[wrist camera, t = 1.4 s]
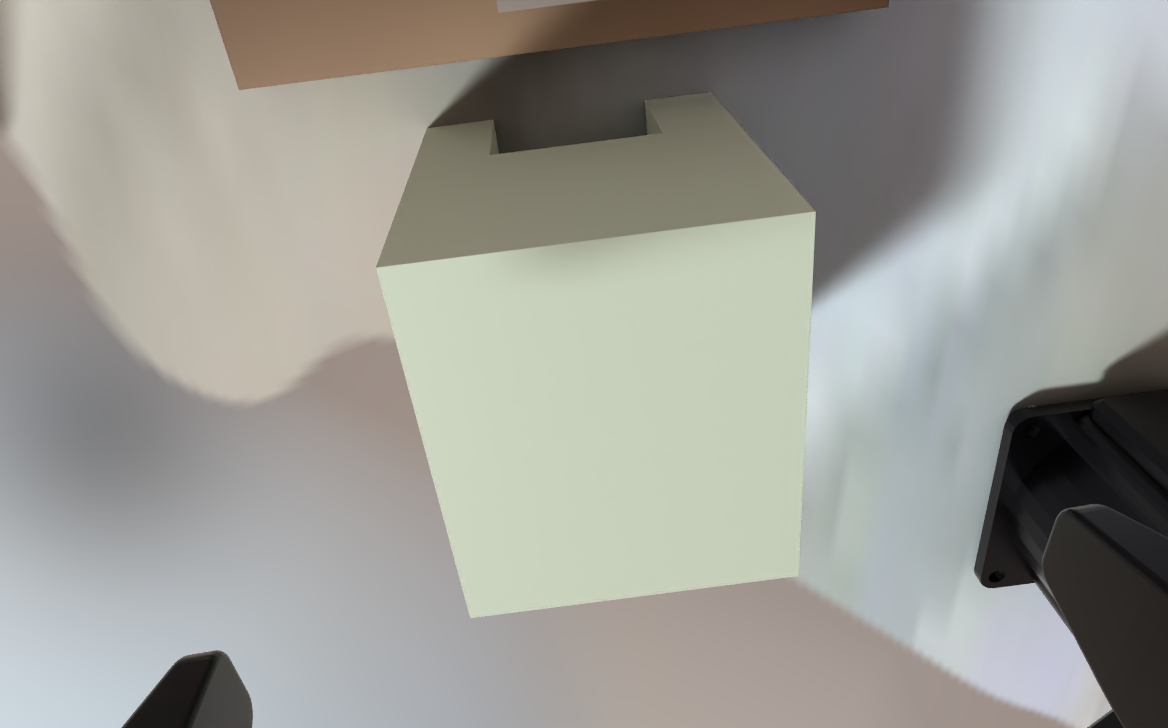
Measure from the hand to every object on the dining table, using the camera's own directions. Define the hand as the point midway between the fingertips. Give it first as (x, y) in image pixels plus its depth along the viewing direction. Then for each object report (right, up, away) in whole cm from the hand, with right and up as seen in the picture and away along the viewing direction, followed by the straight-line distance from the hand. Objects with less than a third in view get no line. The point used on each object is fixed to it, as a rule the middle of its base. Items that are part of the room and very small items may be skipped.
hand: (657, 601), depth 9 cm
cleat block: (-1, +5, +10) cm, 11 cm away
